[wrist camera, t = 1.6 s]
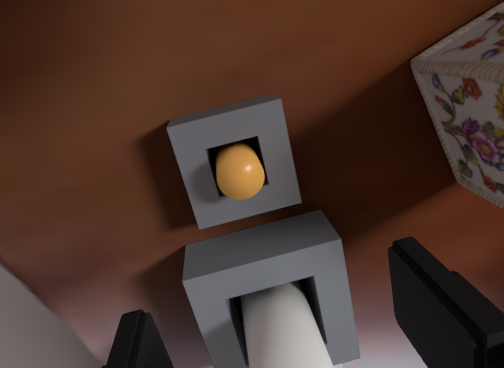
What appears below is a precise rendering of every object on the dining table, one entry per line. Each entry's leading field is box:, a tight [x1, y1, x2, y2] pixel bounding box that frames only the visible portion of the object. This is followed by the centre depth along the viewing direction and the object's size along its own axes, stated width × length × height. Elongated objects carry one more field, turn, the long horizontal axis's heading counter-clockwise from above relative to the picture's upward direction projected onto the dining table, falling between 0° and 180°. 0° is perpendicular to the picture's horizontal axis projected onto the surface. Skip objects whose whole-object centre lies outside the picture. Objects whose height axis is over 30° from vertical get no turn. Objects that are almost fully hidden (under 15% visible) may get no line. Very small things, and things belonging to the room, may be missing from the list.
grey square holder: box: [182, 209, 360, 368], centre depth 30 cm, size 11×11×5 cm
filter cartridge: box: [240, 280, 334, 368], centre depth 25 cm, size 5×5×16 cm
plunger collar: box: [167, 93, 302, 230], centre depth 26 cm, size 8×8×3 cm
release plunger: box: [215, 141, 265, 200], centre depth 25 cm, size 3×3×4 cm
